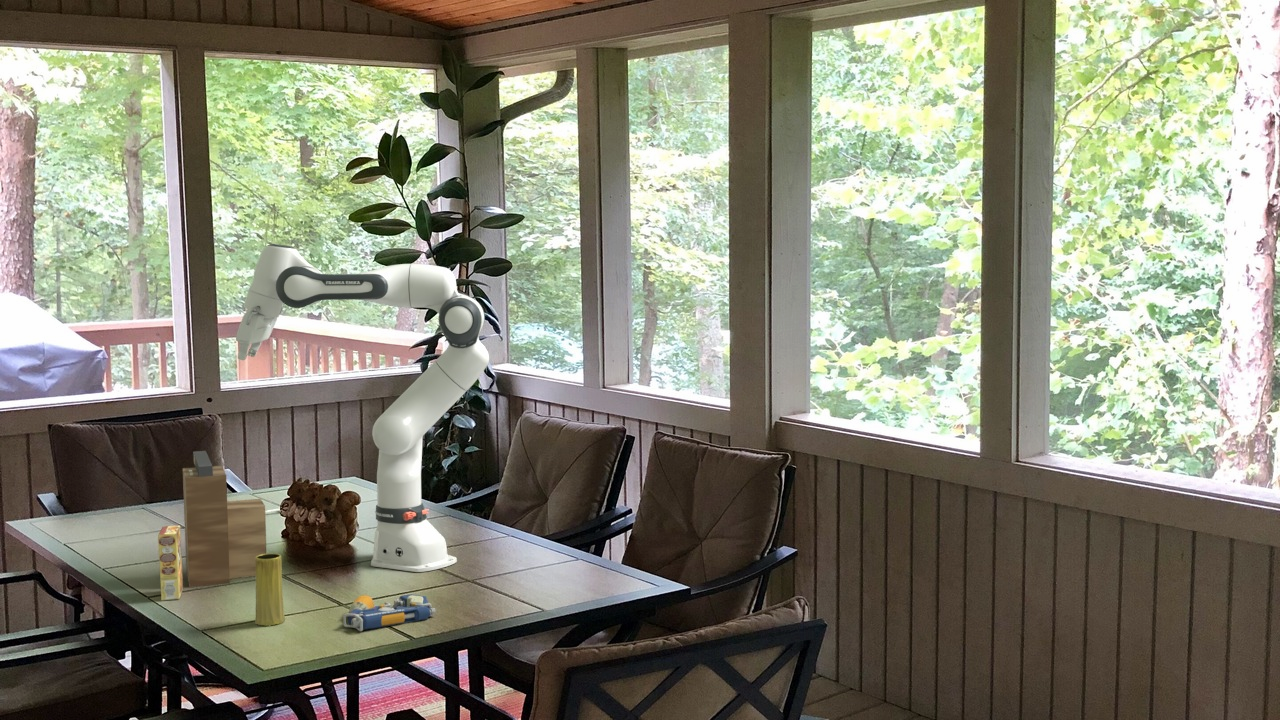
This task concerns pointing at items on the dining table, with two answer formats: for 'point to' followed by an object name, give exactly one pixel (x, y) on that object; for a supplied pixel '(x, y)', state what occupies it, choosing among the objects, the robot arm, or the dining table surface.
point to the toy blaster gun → (387, 612)
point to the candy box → (170, 562)
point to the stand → (220, 530)
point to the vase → (269, 589)
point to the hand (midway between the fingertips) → (246, 357)
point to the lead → (202, 463)
